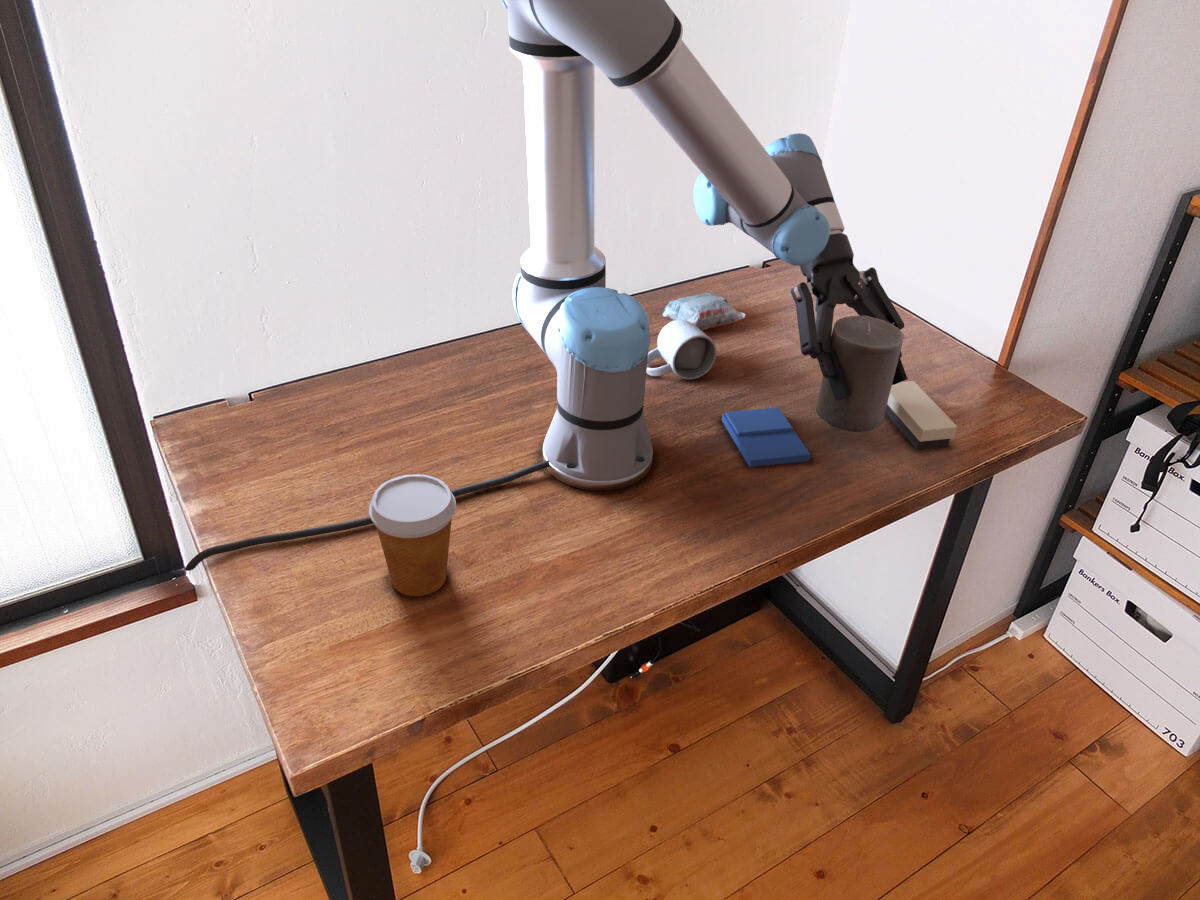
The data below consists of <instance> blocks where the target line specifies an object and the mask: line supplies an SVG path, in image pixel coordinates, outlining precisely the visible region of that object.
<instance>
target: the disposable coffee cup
mask: <svg viewBox="0 0 1200 900" xmlns="http://www.w3.org/2000/svg"><path fill="white" fill-rule="evenodd" d="M450 491H451V490H450V487H449V485H447V484H446V483H445V482H444V481H443V480H441V479H439V478H437V477H435V476H432V475H428V474H421V473H415V474H404V475H399V476H395V477H393V478H390V479H389V480H387V481H385V482H383V483H382V484H380V485H379V486H378V487H377V489H375V491H374V493H373V495H372V499H371V501H370V502H369V505H368V515H369V517H370V518H371V520H372V521H373V522H374V523H373V524H374V526H375V528H376V531H377V535H378V537H379V541H380V545H381V549H382V552H383V555H384V559H385V563H386V566H387V569H388V573H389V576H390V580H391V585H392V586H393V588H394V589H395V590H396V591H397V592H399V593H401V594H402V595H404V596H409V597H422V596H427V595H430V594H433V593H435V592H437V591H438V590H439V589H441V587H442V586H443V585H444V584H445V582H446V579H447V571H448V561H449V551H450V542H451V532H452V531H451V529H452V521H453V517H454V514H455V512H456V509H457V502H456V497H454V496H453V494H452V493H451V492H450Z"/></svg>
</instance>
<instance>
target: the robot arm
mask: <svg viewBox="0 0 1200 900" xmlns="http://www.w3.org/2000/svg"><path fill="white" fill-rule="evenodd" d="M500 1H501V3H502V5H503V6H504V7H505V9H506V10H507V24H508V39H509V40H508V41H509V51H510V52H511V53H512V54H513V55H514V56H515V57H516V58H517V59H519V60H520V62H521V64H522V67H523V86H524V87H523V90H524V93H523V94H524V117H525V138H526V161H527V163H526V164H527V182H528V183H527V186H528V187H527V188H528V208H529V209H528V211H529V212H528V213H529V231H530V232H529V234H530V247H529V248H528V249H526V250H525V252H524V253H523V254H522V255H521V257H520V262H519V263H520V272H518V273H517V275H516V277H515V279H514V281H513V287H512V303H513V307H514V310H515V312H516V315H517V316H516V317H517V318H518V320H519V322H520V323H521V325H522V327H523V328H524V330H525V331H526V332H527V333H528V334H529V335H530V336H531V337H532V339H533V340H534V342H535V343H536V344H537V345H538V346H539V348H540V349H541V350H542V352H543V353H544V354H545V356H546V357H547V358H548V359H549V362H551V364H552V365H553V367H554V369H555V370H556V375H557V376H556V377H557V378H556V379H557V380H556V381H557V382H556V383H557V385H556V410H555V412H554V415H553V418H552V420H551V422H550V425H549V428H548V429H547V432H546V434H545V437H544V440H543V444H542V461H540V462H538V463H535V464H532V465H529V466H527V467H525V468H522V469H520V470H517V471H514V472H511V473H509V474H506V475H503V476H500V477H497V478H494V479H490V480H486V481H485V480H484V481H481V482H476V483H474V484H473V483H472V484H470V485H465V486H462V487H458V488H455V489H451V490H450V492H451V493H452V494H453V496H454V497H455V498H456V497H458V496H462V495H466V494H470V493H473V492H478V491H481V490H485V489H490V488H494V487H496V486H500V485H503V484H507V483H509V482H510V483H511V482H513V481H515V480H517V479H520V478H523V477H525V476H527V475H530V474H533V473H536V472H538V471H541V470H543V469H546V470H547V471H548V473H549V474H550V475H551V476H553V477H554V478H555V479H556V480H557V481H560V482H562V483H563V484H565V485H567V486H571V487H573V488H577V489H582V490H587V491H595V492H596V491H598V492H601V491H602V492H603V491H605V492H606V491H615V490H619V489H622V488H623V489H624V488H627V487H630V486H632V485H634V484H636V483H638V482H640V481H641V480H643V478H645V477H646V476H647V475H648V473H649V472H650V470H651V468H652V465H653V457H654V455H653V454H654V449H653V443H652V440H651V436H650V433H649V429H648V426H647V423H646V421H647V419H646V418H645V415H644V403H645V393H646V381H647V373H646V371H647V360H648V353H649V352H650V346H651V333H650V320H649V315H648V312H647V310H646V309H645V307H644V306H643V305H642V303H640V301H639V300H637V299H636V298H635V297H633V296H632V295H630V294H628V293H626V292H622V293H619V292H618V290H617V289H614V288H610V287H606V286H607V283H606V279H607V271H606V269H607V268H606V267H607V266H606V263H607V262H606V261H607V259H606V255H605V254H604V253H603V252H602V251H601V250H600V249H599V248H598V247H596V246H595V67H596V68H598V69H599V70H600V71H601V72H602V73H603V74H604V75H605V77H606V78H607V79H608V80H609V81H610V82H611V83H612V84H613V86H614V87H615V88H617V89H624V90H625V89H629V90H630V91H631V92H632V94H633V95H634V96H635V97H636V98H637V99H638V100H639V102H640V103H641V104H642V105H643V107H644V108H645V109H646V110H647V111H648V112H649V113H650V114H651V116H652V117H653V118H654V119H655V120H656V122H657V123H658V124H659V125H660V126H661V127H662V128H663V130H665V132H666V133H667V134H668V135H669V136H670V138H671V139H672V140H673V141H674V142H675V144H676V145H677V146H678V147H679V148H680V150H682V151H683V153H685V155H686V157H688V158H689V159H690V161H691V162H692V163H693V164H694V165H695V167H696V168H697V169H698V170H699V171H700V173H701V174H699V175H698V177H697V178H696V180H695V182H694V184H693V203H694V208H695V211H696V214H697V216H698V218H699V219H700V220H701V222H702V223H703V224H705V225H706V226H710V227H712V226H724V225H726V224H729V223H730V224H732V225H734V226H735V227H736V228H738V229H739V230H740V231H742V232H743V233H744V234H746V235H747V236H749V237H750V238H751V239H754V241H756V242H757V243H759V244H760V245H761V246H762V247H764V248H765V249H767V250H768V251H769V252H770V253H772V254H773V255H774V257H775V258H776V259H778V260H782V261H783V262H785V263H786V264H788V265H791V266H799V268H800V271H801V274H802V275H803V276H804V277H805V278H806V282H804V281H802V282H800V283H799V284H797V285H796V286H794V287H793V288H791V290H790V295H791V297H792V299H793V301H794V303H795V304H794V305H795V309H796V316H797V317H796V319H797V326H798V328H797V329H798V335H799V344H800V353H801V354H802V355H803V356H810V358H811V359H813V360H815V359H816V361H817V363H818V366H819V368H820V372H821V374H822V377H823V376H824V378H828V380H829V383H830V386H831V389H832V392H833V395H834V398H835V401H838V400H841V399H843V398H846V397H848V396H850V395H851V392H850V389H849V386H848V384H847V381H846V378H845V375H844V372H843V369H842V366H841V363H840V361H839V358H838V355H837V352H836V351H832V352H830V353H829V351H830V345H831V336H832V331H833V325H834V324H833V322H834V313H835V308H836V306H837V305H844V304H845V305H846V307H848V308H851V309H853V310H854V312H855V313H856V314H857V316H870V317H873V318H877V319H881V320H884V321H886V322H888V323H891V324H893V325H894V326H895V327H898V328H899V330H900V331H901V330H902V329H905V323H904V320H903V319H902V317H901V315H900V314H899V312H898V311H897V309H896V307H895V306H894V304H893V302H892V301H891V299H890V297H889V296H888V294H887V293H886V291H885V289H884V288H883V285H882V284H881V282H880V279H879V275H878V272H877V270H876V268H875V267H870V268H868V269H867V270H858V268H857V267H856V266H855V264H854V257H855V254H854V251H853V248H852V246H851V243H850V240H849V237H848V235H847V234H846V233H844V231H845V225H844V222H843V220H842V217H841V214H840V212H839V209H838V207H837V203H836V200H835V198H834V195H833V192H832V190H831V186H830V183H829V181H828V178H827V177H828V176H827V175H826V172H825V169H824V166H823V160H822V158H821V157H820V154H819V152H818V150H817V147H816V145H815V143H814V141H813V140H812V138H811V137H810V136H809V135H808V134H806V133H801V132H800V133H799V132H798V133H792V134H788V135H786V136H785V137H782V138H781V137H780V138H778V139H776V140H774V141H773V142H771V143H770V144H768V145H767V146H766V147H764V146H763V144H762V143H761V141H759V139H758V138H757V137H756V136H755V134H754V132H752V130H751V129H750V127H749V126H748V124H746V122H745V121H744V119H743V118H742V117H741V116H740V114H739V112H737V110H736V109H735V108H734V106H733V105H732V103H731V102H730V101H729V100H728V98H727V97H726V96H725V95H724V93H723V92H722V90H721V89H720V88H719V87H718V85H717V84H716V83H715V81H714V80H713V79H712V78H711V76H710V75H709V73H708V72H707V71H706V69H705V68H704V67H703V66H702V64H701V63H700V62H699V60H698V59H697V58H696V56H695V55H694V54H693V52H692V51H691V50H690V48H689V47H688V46H687V45H686V43H685V42H684V41H683V39H682V38H683V34H684V33H683V32H684V28H683V23H682V22H681V20H680V19H679V17H678V16H677V15H676V14H675V12H674V11H673V9H672V8H671V7H670V5H669V4H668V2H667V1H666V0H500ZM812 295H813V296H814V297H816V299H815V307H814V299H813V296H812ZM815 313H816V316H815ZM902 357H903V353H902V350H901V351H900V355H899V359H898V363H897V367H896V371H895V375H894V379H893V383H892V385H895V384H897V383H900V382H905V381H907V380H908V376H907V373H906V371H905V367H904V365H903V362H902V359H901V358H902ZM373 524H374V522H373V521H372V520H371V518H370V516H366V517H363V518H358V519H354V520H349V521H344V522H340V523H335V524H329V525H323V526H318V527H311V528H305V529H300V530H293V531H288V532H282V533H281V532H280V533H275V534H267V535H261V536H256V537H251V538H247V539H241V540H238V541H233V542H229V543H224V544H220V545H216V546H212V547H209V548H206V549H204V550H201V551H200V552H198V553H197V554H196V555H195V556H194V557H192V558H191V559H190V561H188V563H187V564H186V565H185V568H184V570H185V571H186V572H190V571H193V570H194V569H196V567H197V566H198V565H199V564H200V563H201V562H203V561H204V560H206V559H207V558H209V557H212V556H216V555H218V554H222V553H228V552H232V551H237V550H241V549H245V548H249V547H253V546H254V547H255V546H258V545H264V544H269V543H278V542H285V541H291V540H296V539H302V538H307V537H309V538H310V537H314V536H318V535H319V536H320V535H325V534H333V533H336V532H342V531H346V530H352V529H355V528H360V527H361V528H362V527H365V526H368V525H373Z"/></svg>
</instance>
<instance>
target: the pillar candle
mask: <svg viewBox="0 0 1200 900" xmlns="http://www.w3.org/2000/svg"><path fill="white" fill-rule="evenodd" d="M893 324H894V323H893ZM893 324H891V323H888V322H886V321H884V320H881V319H877V318H873V317H870V316H859V315H850V316H845V317H842V318H839V319H837V320H836V321H835V322H834V324H833V326H832V334H831V345H830V351H829V353H830V352H832V351H836V352H837V355H838V358H839V361H840V363H841V366H842V369H843V372H844V375H845V378H846V381H847V384H848V386H849V389H850V392H851V395H850V396H848V397H846V398H843V399H841V400H838V401H835V398H834V395H833V392H832V389H831V386H830V383H829V380H828V378H824V376H823V375H822V377H821V382H820V387H819V392H818V398H817V402H816V414H817V415H818V417H819V418H820V419H821V420H822V421H823V422H825V423H826V424H827V425H829V426H831V427H832V428H835V429H838V430H842V431H846V432H855V433H862V432H863V433H865V432H871V431H875V429H878V428H879V427H880V426H881V425H882V423H883V421H884V418H885V415H886V413H885V410H886V407H887V403H888V398H889V394H890V391H891V387H892V383H893V379H894V375H895V371H896V367H897V363H898V359H899V355H900V351H901V352H902V346H903V343H904V340H905V338H906V337H905V334H904V332H902V331H901V330H899V328H898V327H895V326H894V325H893Z"/></svg>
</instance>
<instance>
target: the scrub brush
mask: <svg viewBox="0 0 1200 900" xmlns="http://www.w3.org/2000/svg"><path fill="white" fill-rule="evenodd" d="M885 415H886V416H887V417H888V418H889V419H890V420H891V422H892V423H893V424H894V425H895V426H896V428H898V430H899V431H900V432H901V434H903V436H904V437H905V438H906V439H907V440H908V441H909V443H910V444H911V445H912V447H914V448H915V450H917V451H918V450H929V449H939V448H947V447H949V444H950V441H951V439H955V436H956V433H957V430H958V426H957V425H956V423H954V422H953V420H952V419H951V418H950V417H949V416H948V415H947V413H945V412H944V411H943V410H942V409H941V408H940V407H939V406H938V404H937V403H935V401H934V400H933V399H932V398H931V397H930V396H929V395H928V394H927V393H926V391H925V390H923V389H922V388H921V387H920V385H918V384H917V382H915V381H914V380H910V381H907V380H905V381H902V382H900V383H897V384H895V385H892V387H891V391H890V394H889V398H888V403H887V407H886V410H885Z"/></svg>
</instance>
